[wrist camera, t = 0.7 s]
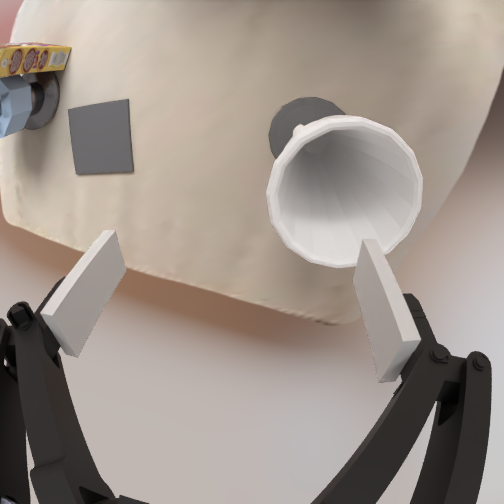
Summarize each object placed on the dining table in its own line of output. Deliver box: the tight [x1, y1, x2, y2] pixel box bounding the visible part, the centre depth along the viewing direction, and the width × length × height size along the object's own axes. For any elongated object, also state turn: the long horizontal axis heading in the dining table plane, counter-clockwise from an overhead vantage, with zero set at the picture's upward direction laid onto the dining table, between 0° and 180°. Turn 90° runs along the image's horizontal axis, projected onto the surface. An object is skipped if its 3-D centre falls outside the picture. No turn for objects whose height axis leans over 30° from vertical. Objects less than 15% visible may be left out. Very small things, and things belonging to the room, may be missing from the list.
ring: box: [0, 74, 32, 138], centre depth 26 cm, size 9×9×4 cm
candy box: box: [0, 43, 71, 77], centre depth 23 cm, size 9×4×15 cm, turn 66°
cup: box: [266, 97, 423, 268], centre depth 28 cm, size 12×12×22 cm
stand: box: [0, 71, 60, 130], centre depth 28 cm, size 11×11×12 cm
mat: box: [68, 99, 134, 174], centre depth 37 cm, size 11×11×1 cm
